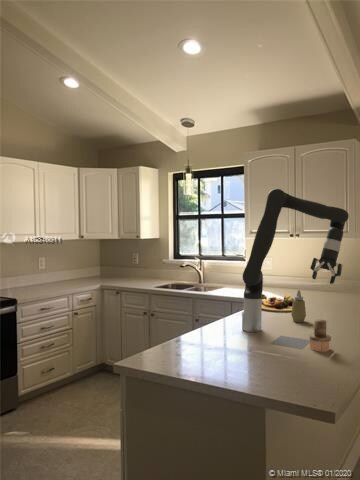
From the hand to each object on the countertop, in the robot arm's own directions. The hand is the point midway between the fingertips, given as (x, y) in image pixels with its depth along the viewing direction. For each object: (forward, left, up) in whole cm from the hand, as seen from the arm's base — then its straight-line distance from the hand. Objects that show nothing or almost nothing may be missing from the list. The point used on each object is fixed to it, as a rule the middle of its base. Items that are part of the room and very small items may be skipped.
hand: (322, 281), depth 196 cm
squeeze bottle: (-19, +28, -28) cm, 44 cm away
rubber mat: (-10, -16, -28) cm, 34 cm away
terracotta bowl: (+4, -19, -28) cm, 34 cm away
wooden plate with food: (-43, +59, -29) cm, 78 cm away
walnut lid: (+4, -19, -23) cm, 30 cm away
